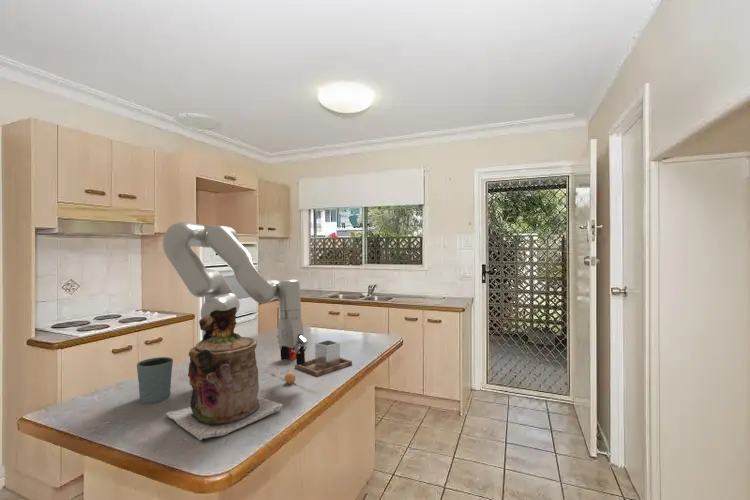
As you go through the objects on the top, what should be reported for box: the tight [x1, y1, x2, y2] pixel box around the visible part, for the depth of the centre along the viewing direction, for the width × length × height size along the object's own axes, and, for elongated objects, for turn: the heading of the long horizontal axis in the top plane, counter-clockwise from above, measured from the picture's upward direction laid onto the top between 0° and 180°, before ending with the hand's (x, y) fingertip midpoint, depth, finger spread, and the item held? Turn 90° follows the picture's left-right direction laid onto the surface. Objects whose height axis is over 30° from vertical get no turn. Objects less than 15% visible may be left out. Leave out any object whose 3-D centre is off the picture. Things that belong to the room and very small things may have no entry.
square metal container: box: [314, 339, 341, 369], centre depth 150 cm, size 7×7×9 cm
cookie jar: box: [165, 307, 283, 441], centre depth 108 cm, size 25×25×32 cm
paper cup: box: [285, 347, 297, 361], centre depth 160 cm, size 8×8×14 cm
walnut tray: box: [294, 357, 353, 377], centre depth 148 cm, size 18×14×2 cm
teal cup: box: [136, 356, 174, 404], centre depth 121 cm, size 10×10×12 cm
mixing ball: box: [284, 371, 296, 384], centre depth 133 cm, size 4×4×4 cm
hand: (292, 361), depth 133 cm, fingers open, 9 cm apart
